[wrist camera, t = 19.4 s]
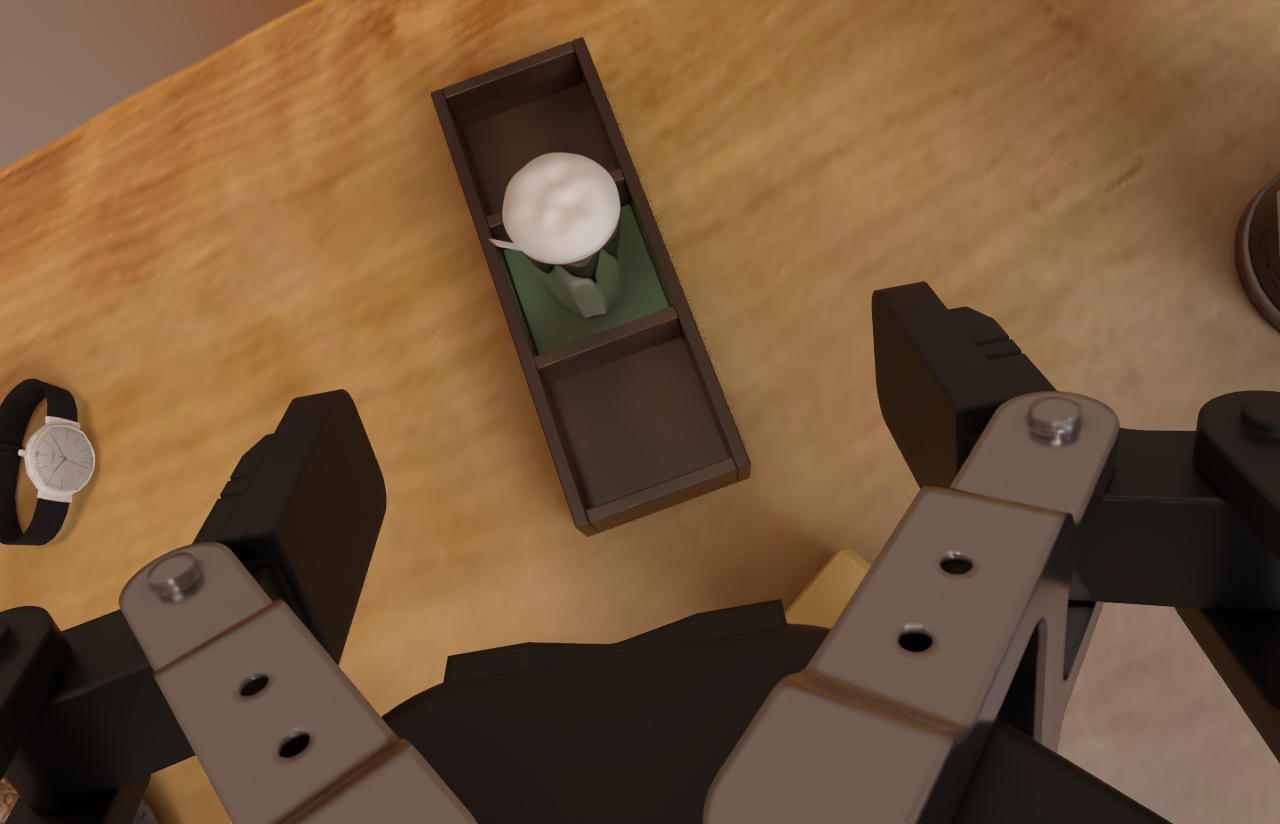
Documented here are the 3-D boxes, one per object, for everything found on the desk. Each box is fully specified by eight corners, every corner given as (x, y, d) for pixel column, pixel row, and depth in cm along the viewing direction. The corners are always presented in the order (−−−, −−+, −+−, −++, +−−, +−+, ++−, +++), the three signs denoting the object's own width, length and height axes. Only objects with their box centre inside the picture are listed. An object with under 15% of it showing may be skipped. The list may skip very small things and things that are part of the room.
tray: (592, 75, 48) (582, 36, 45) (749, 477, 42) (751, 464, 39) (448, 128, 48) (429, 92, 45) (587, 537, 42) (575, 528, 39)
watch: (91, 546, 44) (36, 538, 41) (-4, 552, 44) (-67, 544, 41) (107, 387, 46) (55, 366, 42) (15, 394, 46) (-43, 373, 43)
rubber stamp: (748, 654, 40) (756, 657, 29) (835, 551, 41) (877, 514, 29) (938, 824, 38) (1030, 902, 26) (1027, 712, 39) (1154, 741, 27)
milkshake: (510, 300, 44) (449, 203, 35) (590, 221, 45) (551, 104, 35) (578, 362, 43) (535, 281, 34) (659, 281, 44) (639, 177, 34)
